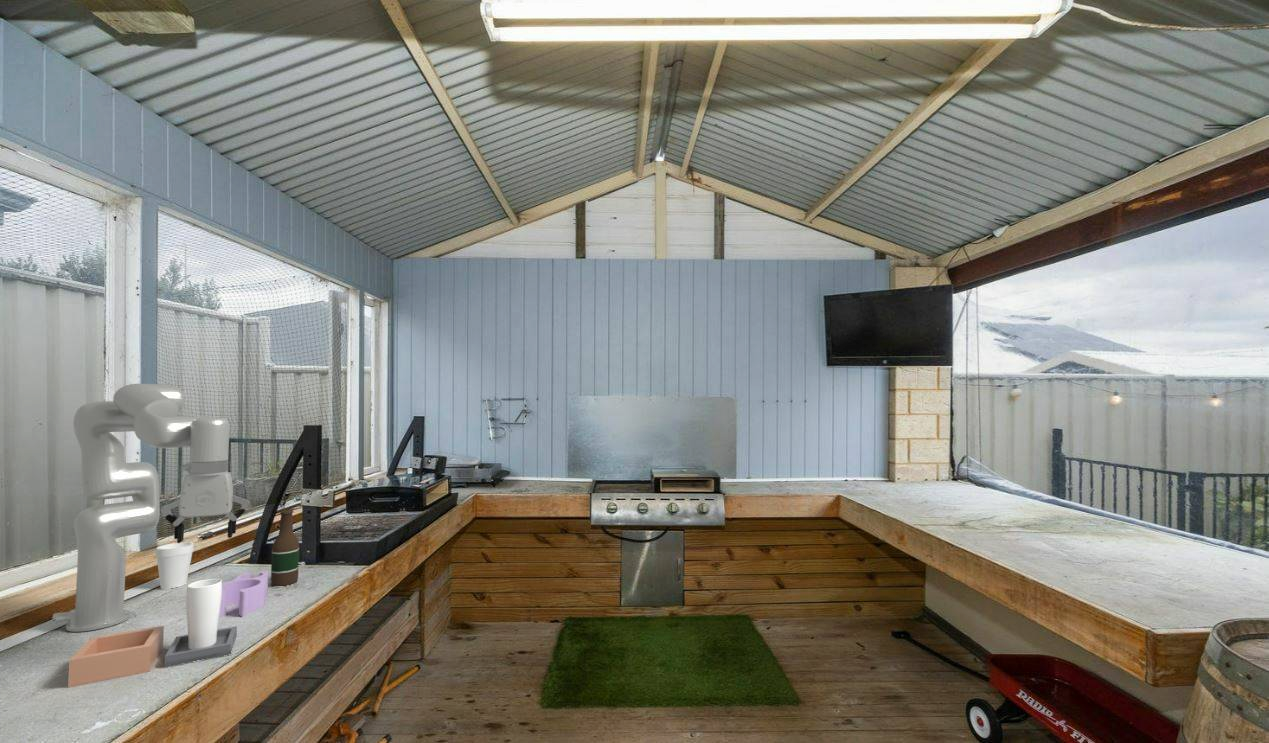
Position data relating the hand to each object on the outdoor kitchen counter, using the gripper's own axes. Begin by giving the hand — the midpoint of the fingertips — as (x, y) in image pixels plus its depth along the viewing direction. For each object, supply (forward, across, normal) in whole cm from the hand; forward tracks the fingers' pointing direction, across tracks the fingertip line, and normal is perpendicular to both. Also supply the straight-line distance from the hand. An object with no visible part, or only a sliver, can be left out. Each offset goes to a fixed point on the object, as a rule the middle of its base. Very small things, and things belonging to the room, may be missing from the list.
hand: (205, 539), depth 133 cm
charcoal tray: (+26, 0, -1) cm, 26 cm away
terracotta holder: (+26, -14, -1) cm, 30 cm away
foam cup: (+27, -16, +63) cm, 70 cm away
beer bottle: (+27, +15, +47) cm, 57 cm away
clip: (+27, +6, +31) cm, 41 cm away
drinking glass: (+26, 0, -1) cm, 26 cm away
